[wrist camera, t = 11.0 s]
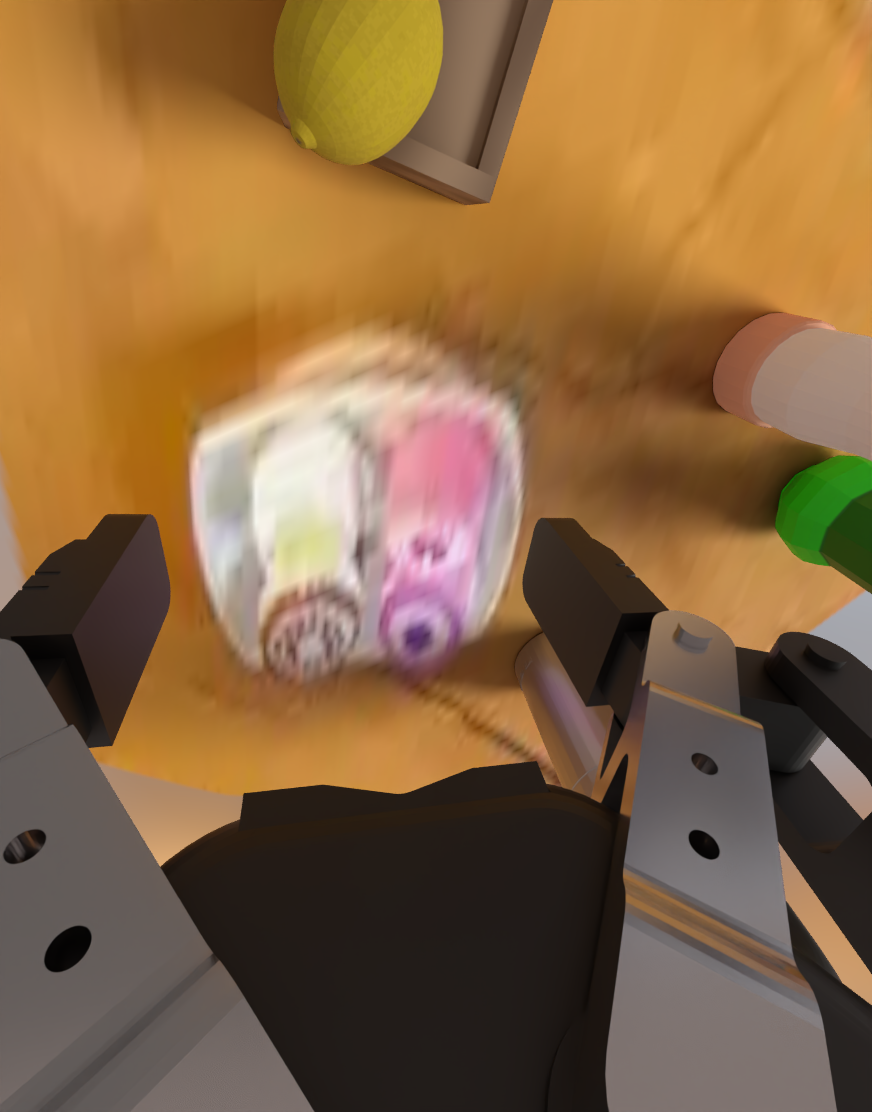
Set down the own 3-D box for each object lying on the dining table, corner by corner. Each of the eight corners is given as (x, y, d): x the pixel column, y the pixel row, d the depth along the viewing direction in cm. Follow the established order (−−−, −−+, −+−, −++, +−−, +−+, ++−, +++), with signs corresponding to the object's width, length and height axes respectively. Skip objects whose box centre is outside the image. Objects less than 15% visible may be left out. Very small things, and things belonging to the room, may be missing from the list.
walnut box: (534, -37, 24) (583, -97, 19) (463, 205, 29) (489, 202, 24) (325, -170, 20) (325, -281, 16) (285, 128, 25) (276, 108, 21)
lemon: (400, 46, 22) (292, 187, 22) (342, -143, 17) (202, 40, 17) (496, 70, 20) (377, 226, 20) (463, -137, 15) (304, 72, 15)
